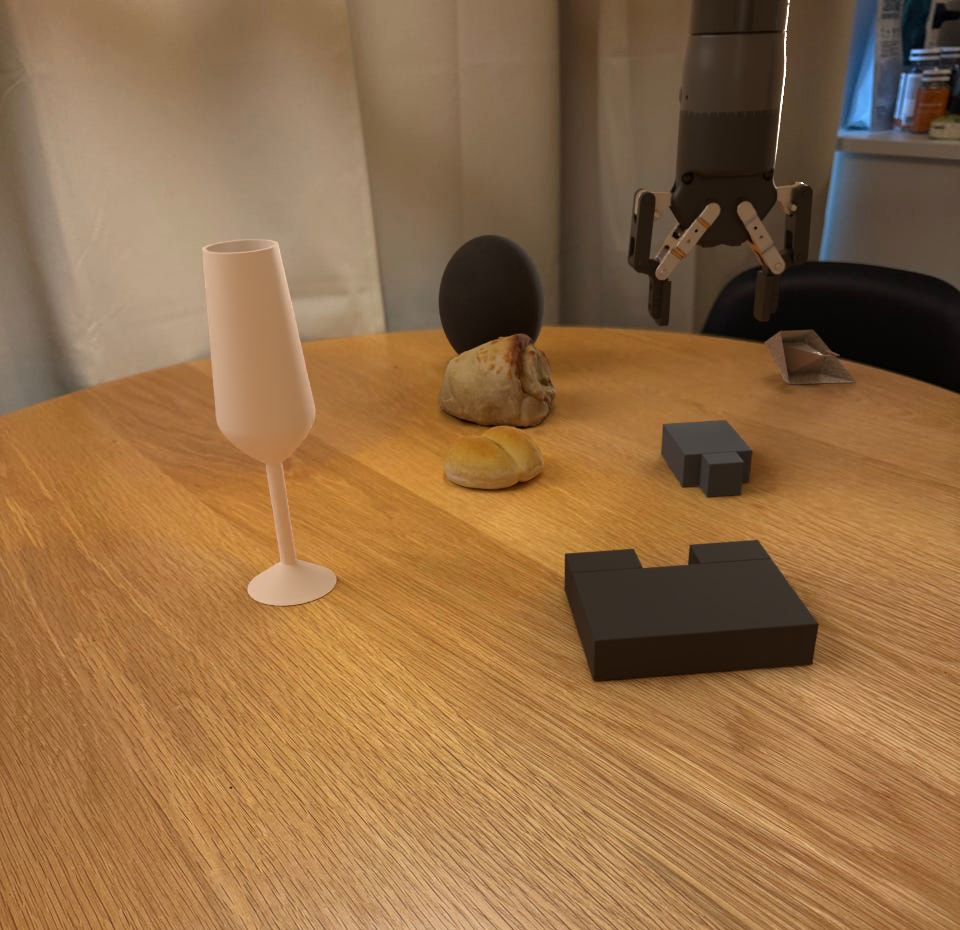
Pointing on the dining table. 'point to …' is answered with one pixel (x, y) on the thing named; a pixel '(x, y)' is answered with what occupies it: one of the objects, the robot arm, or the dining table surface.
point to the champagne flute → (262, 391)
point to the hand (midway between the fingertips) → (711, 321)
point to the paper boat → (805, 358)
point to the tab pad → (707, 456)
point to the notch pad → (687, 612)
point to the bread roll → (493, 459)
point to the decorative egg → (490, 293)
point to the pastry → (499, 383)
